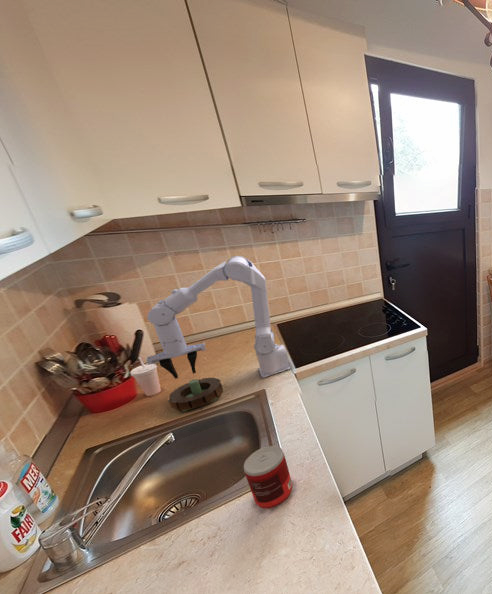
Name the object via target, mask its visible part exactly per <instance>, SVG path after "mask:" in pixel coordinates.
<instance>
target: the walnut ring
mask: <svg viewBox="0 0 492 594" xmlns="http://www.w3.org/2000/svg"><path fill="white" fill-rule="evenodd" d="M198 382H199V384H200V387H201V390H204V389H207V390H206V391H204V392H202V393H201V394H198V395H195V396H191V397H187V396H188V395H190V394H192V391H191V388H190V386H189V383H188V382H186V383H185V384H183V385H180V386H179V387H177V388H175V389H174V390H173V391H172V392H170V394H169V395H168V402H169V404H170V406H171V408H172V409H175V410H178V411H182V410H185V409H190V410H192V409H191V408H192V407H193V409H196V408H200V407H202V406H205V405H206V404H205V403H208V402H210V401H212V400H214V399H215V398H216V397H217V398H218V397H219V396H220V395H221V394H222V393H223V392H224V388H223V385H222V381H221V379H219V378H216V377H204V378H199V379H198ZM208 404H209V403H208Z"/></svg>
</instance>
